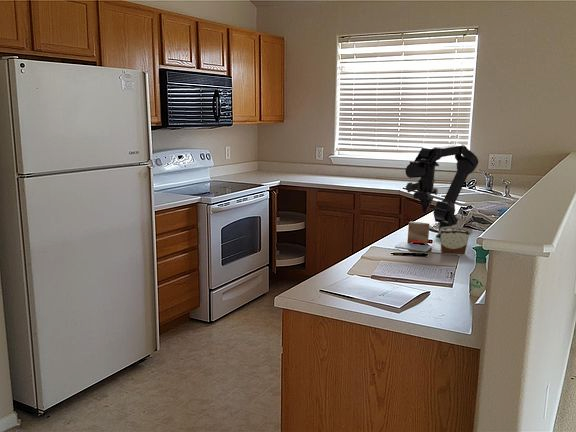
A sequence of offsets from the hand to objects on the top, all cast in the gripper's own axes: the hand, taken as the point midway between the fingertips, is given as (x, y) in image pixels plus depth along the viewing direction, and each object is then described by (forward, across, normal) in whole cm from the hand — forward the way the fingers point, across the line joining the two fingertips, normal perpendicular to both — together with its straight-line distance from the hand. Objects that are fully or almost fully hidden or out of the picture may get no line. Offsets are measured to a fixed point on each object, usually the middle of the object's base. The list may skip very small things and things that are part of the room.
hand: (424, 212), depth 231 cm
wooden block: (+12, +8, 0) cm, 15 cm away
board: (+12, +14, 0) cm, 19 cm away
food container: (+12, +14, +15) cm, 24 cm away
